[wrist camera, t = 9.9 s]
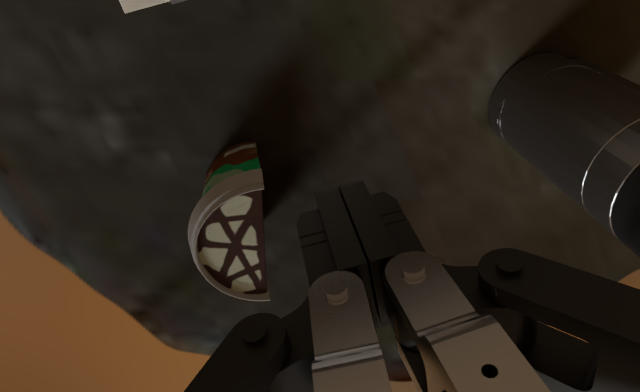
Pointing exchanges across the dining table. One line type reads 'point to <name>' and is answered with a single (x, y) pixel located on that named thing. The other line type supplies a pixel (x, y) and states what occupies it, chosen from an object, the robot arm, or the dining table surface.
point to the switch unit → (142, 4)
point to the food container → (232, 225)
